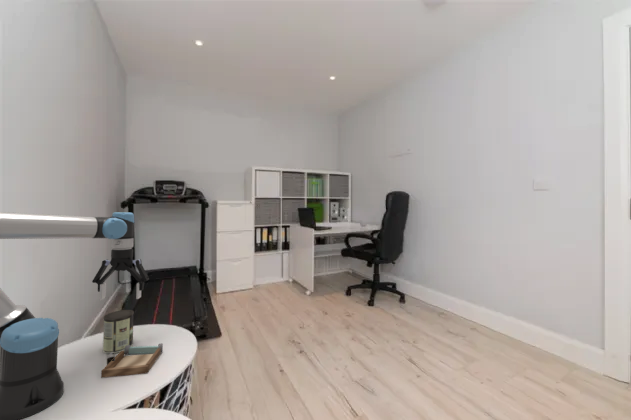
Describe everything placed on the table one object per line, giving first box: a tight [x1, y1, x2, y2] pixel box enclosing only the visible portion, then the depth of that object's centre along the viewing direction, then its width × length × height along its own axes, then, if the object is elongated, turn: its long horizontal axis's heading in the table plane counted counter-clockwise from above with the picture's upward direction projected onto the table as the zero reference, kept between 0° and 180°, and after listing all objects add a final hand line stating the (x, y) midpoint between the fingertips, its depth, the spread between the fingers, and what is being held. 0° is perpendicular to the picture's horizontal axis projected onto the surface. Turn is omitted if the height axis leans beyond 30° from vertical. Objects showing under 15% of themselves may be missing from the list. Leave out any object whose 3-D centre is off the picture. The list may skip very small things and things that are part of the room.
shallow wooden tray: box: [100, 348, 162, 379], centre depth 98 cm, size 14×13×2 cm
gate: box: [124, 343, 164, 356], centre depth 106 cm, size 14×2×3 cm, turn 97°
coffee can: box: [102, 309, 135, 355], centre depth 110 cm, size 10×10×14 cm
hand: (120, 298), depth 110 cm, fingers open, 13 cm apart
